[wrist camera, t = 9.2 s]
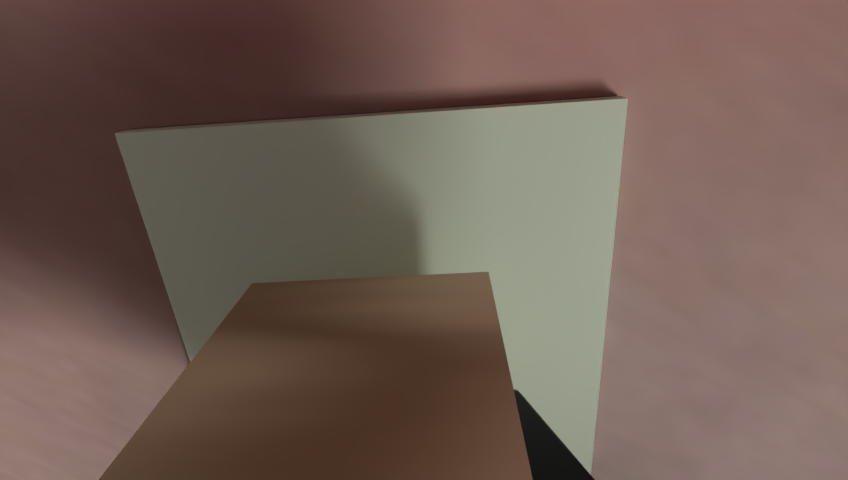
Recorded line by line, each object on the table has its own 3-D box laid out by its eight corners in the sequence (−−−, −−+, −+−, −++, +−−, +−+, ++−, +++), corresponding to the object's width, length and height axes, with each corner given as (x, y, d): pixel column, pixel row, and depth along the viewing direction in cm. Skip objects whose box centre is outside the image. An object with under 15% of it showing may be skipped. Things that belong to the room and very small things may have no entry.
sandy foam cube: (294, 456, 11) (201, 721, 6) (252, 283, 9) (86, 494, 5) (491, 450, 10) (526, 723, 6) (488, 271, 9) (533, 485, 4)
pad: (237, 476, 13) (231, 488, 13) (127, 129, 10) (114, 133, 9) (586, 467, 13) (590, 480, 13) (620, 96, 9) (627, 98, 9)
